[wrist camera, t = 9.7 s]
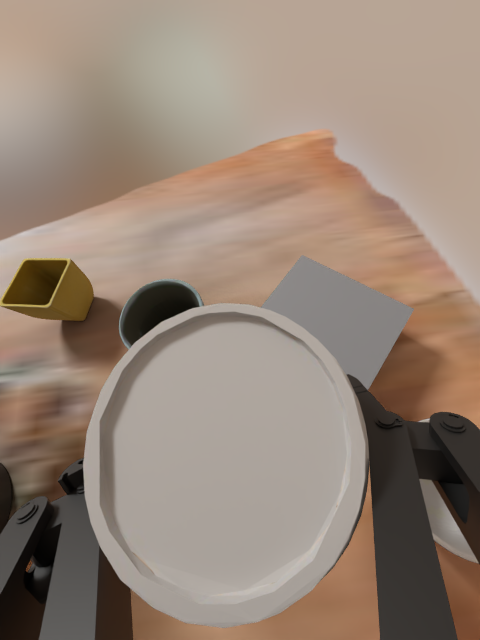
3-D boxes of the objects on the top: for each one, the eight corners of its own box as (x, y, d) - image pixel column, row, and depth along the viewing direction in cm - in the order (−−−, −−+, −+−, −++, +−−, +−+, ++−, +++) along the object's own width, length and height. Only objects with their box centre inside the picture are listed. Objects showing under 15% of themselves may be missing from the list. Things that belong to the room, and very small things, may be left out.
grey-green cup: (235, 354, 37) (219, 323, 26) (179, 392, 35) (137, 377, 25) (203, 307, 41) (178, 264, 30) (152, 340, 40) (105, 307, 29)
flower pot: (107, 287, 45) (71, 257, 37) (91, 330, 42) (48, 307, 34) (67, 287, 47) (23, 257, 39) (48, 328, 43) (-4, 305, 35)
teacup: (391, 536, 26) (436, 578, 19) (353, 429, 31) (377, 429, 23) (521, 512, 25) (620, 545, 18) (462, 406, 30) (522, 399, 23)
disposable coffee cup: (211, 356, 21) (143, 277, 10) (323, 381, 19) (388, 314, 8) (172, 481, 17) (2, 561, 7) (306, 529, 15) (382, 766, 4)
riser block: (338, 420, 31) (351, 419, 26) (241, 351, 37) (236, 338, 31) (392, 327, 35) (414, 309, 30) (298, 278, 41) (302, 255, 35)
